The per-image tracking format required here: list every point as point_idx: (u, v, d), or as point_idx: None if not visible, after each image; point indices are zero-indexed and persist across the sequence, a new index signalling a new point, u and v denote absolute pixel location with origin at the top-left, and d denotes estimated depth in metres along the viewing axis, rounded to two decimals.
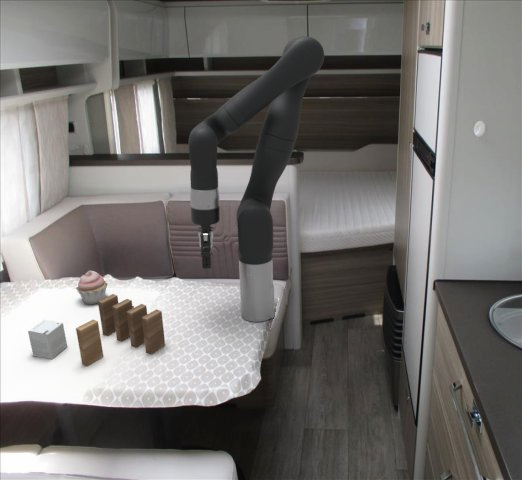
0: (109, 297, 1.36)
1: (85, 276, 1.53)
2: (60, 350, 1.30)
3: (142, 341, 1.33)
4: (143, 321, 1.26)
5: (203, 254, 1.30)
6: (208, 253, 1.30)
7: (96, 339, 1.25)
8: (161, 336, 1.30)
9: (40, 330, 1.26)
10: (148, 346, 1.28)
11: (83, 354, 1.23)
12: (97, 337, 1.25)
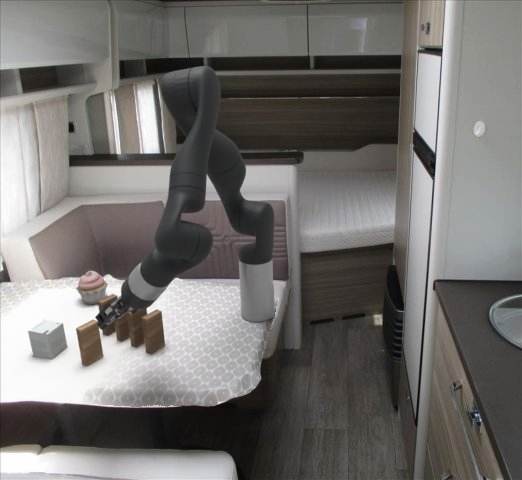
0: (109, 297, 1.36)
1: (85, 276, 1.53)
2: (60, 350, 1.30)
3: (142, 341, 1.33)
4: (143, 321, 1.26)
5: None
6: None
7: (96, 339, 1.25)
8: (161, 336, 1.30)
9: (40, 330, 1.26)
10: (148, 346, 1.28)
11: (83, 354, 1.23)
12: (97, 337, 1.25)
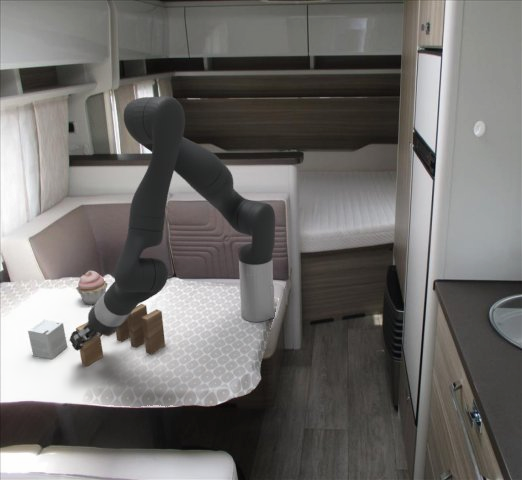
0: None
1: (85, 276, 1.53)
2: (60, 350, 1.30)
3: (142, 341, 1.33)
4: (143, 321, 1.26)
5: None
6: None
7: (96, 339, 1.25)
8: (161, 336, 1.30)
9: (40, 330, 1.26)
10: (148, 346, 1.28)
11: (83, 354, 1.23)
12: (97, 337, 1.25)
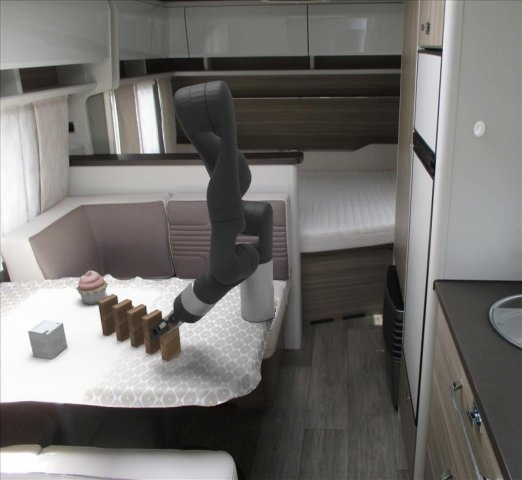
0: (109, 297, 1.36)
1: (85, 276, 1.53)
2: (60, 350, 1.30)
3: (142, 341, 1.33)
4: (143, 321, 1.26)
5: None
6: None
7: (176, 334, 1.26)
8: None
9: (40, 330, 1.26)
10: (148, 346, 1.28)
11: (164, 349, 1.24)
12: (176, 332, 1.26)
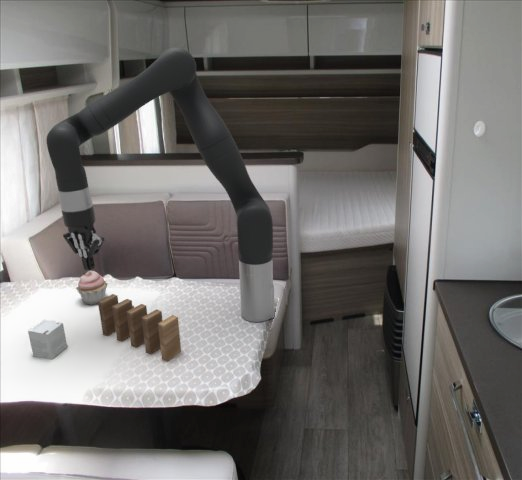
0: (109, 297, 1.36)
1: (85, 276, 1.53)
2: (60, 350, 1.30)
3: (142, 341, 1.33)
4: (143, 321, 1.26)
5: (92, 254, 1.30)
6: (96, 251, 1.31)
7: (176, 334, 1.26)
8: None
9: (40, 330, 1.26)
10: (148, 346, 1.28)
11: (164, 349, 1.24)
12: (176, 332, 1.26)
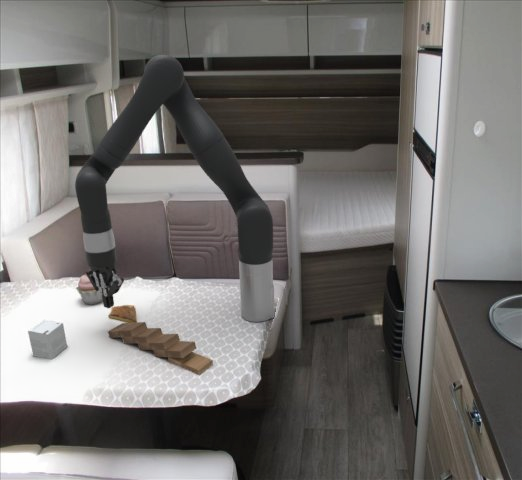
0: (140, 328, 1.32)
1: (85, 276, 1.53)
2: (60, 350, 1.30)
3: None
4: (178, 353, 1.21)
5: (112, 293, 1.33)
6: (116, 291, 1.34)
7: None
8: None
9: (40, 330, 1.26)
10: (160, 354, 1.26)
11: (177, 365, 1.23)
12: None
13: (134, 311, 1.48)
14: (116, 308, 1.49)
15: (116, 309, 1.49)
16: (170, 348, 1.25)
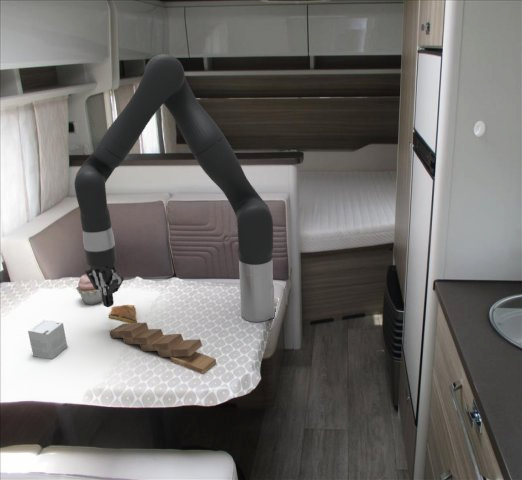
0: (141, 328, 1.32)
1: (85, 276, 1.53)
2: (60, 350, 1.30)
3: None
4: (185, 351, 1.22)
5: (112, 292, 1.33)
6: (115, 289, 1.34)
7: None
8: None
9: (40, 330, 1.26)
10: (165, 354, 1.26)
11: (180, 365, 1.23)
12: None
13: (134, 310, 1.48)
14: (116, 308, 1.49)
15: (116, 309, 1.49)
16: (176, 347, 1.25)
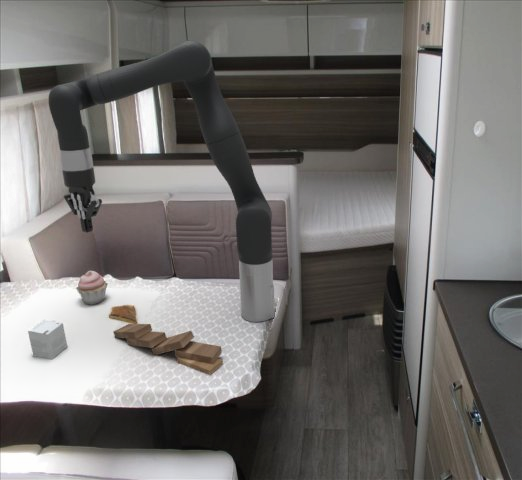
0: (145, 330, 1.31)
1: (85, 276, 1.53)
2: (60, 350, 1.30)
3: None
4: (209, 358, 1.21)
5: (90, 215, 1.31)
6: (94, 213, 1.32)
7: None
8: None
9: (40, 330, 1.26)
10: (183, 356, 1.24)
11: None
12: None
13: (134, 311, 1.48)
14: (116, 308, 1.49)
15: (116, 309, 1.49)
16: (196, 351, 1.23)
